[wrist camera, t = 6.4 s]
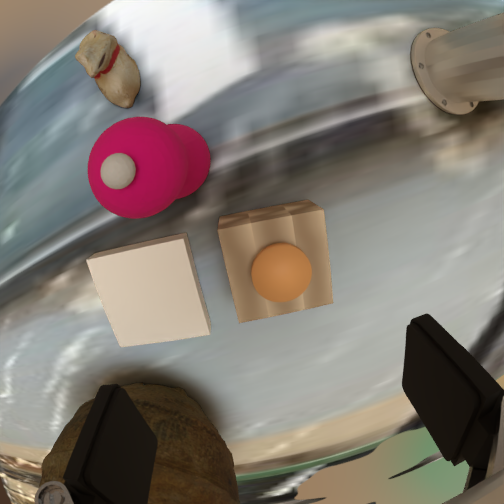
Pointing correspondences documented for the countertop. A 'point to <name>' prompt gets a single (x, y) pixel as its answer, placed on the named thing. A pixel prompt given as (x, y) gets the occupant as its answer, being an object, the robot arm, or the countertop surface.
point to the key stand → (265, 234)
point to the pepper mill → (146, 166)
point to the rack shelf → (151, 291)
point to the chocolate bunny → (110, 68)
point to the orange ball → (281, 272)
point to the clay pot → (166, 449)
